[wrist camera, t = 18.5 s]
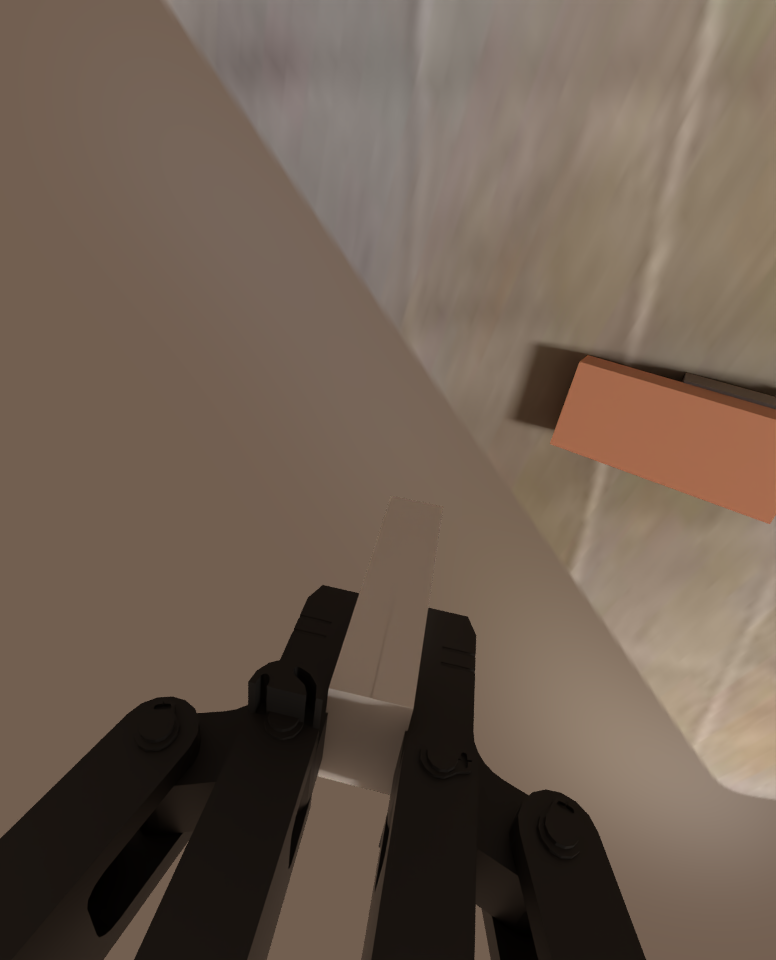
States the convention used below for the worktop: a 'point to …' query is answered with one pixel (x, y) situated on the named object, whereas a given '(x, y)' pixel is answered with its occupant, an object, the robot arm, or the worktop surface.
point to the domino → (673, 435)
